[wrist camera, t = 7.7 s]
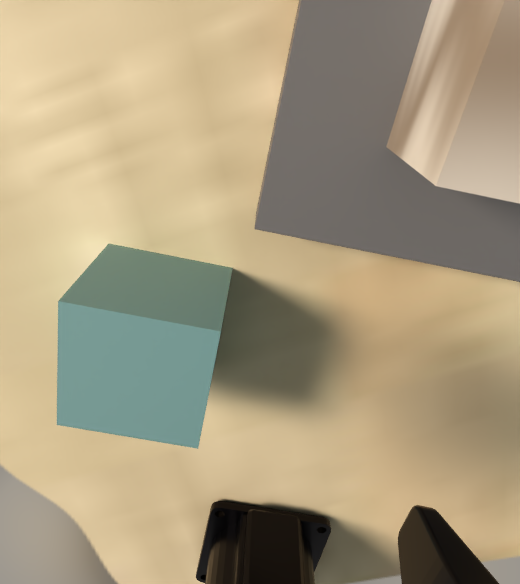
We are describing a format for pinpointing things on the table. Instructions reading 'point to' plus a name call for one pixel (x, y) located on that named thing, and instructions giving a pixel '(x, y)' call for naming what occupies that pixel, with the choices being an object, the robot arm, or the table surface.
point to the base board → (369, 149)
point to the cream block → (464, 99)
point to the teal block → (140, 345)
